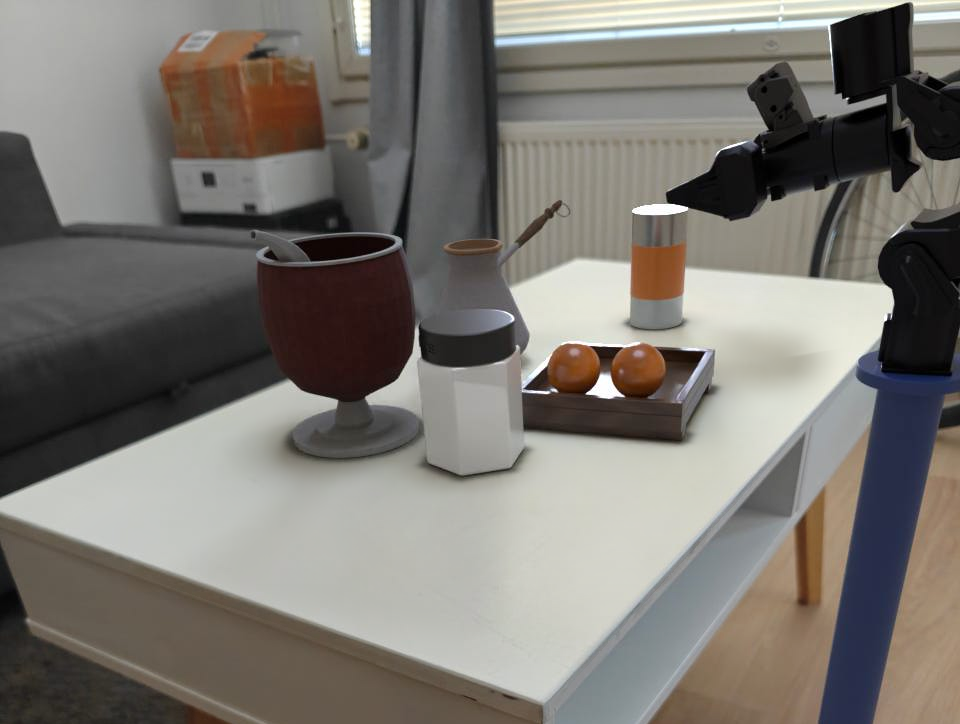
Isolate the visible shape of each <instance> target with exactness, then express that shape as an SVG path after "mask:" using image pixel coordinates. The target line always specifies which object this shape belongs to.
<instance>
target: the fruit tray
mask: <svg viewBox="0 0 960 724" xmlns="http://www.w3.org/2000/svg"><path fill="white" fill-rule="evenodd" d="M715 361H716V349H714V348H713V349H711V348H695V347H675V346H674V347H671V346H653V345H651V344H648V343H645V342H633V343H629V344H611V343H610V344H609V343H591V342H590V343H588V342H582V341H575V340H574V341H573V340H572V341H563V342H562V343H561V344H560V345H559V346H558V347H556V348H555V349H554V350H553V352H552V353H550V354H549V356H547V357H546V358H545V359H544V360H543V361H542V362H541V363H540V364H539V365H538V366H537V367H536V368H535V369H534V370H533V371H531V373H530V374H529V375H528V376H527V377H526V378H525V379H523V381H521V386H522V410H523V428H527V429H539V430H550V431H551V430H552V431H562V432H574V433H586V434H587V433H588V434H600V435H611V436H624V437H636V438H647V439H648V438H649V439H658V440H671V441H672V440H673V441H683V440H684V438H685V435H686V432H687V431H686V430H687V423H688V422H689V420H690V417H691V416H692V414H693V413H694V410H695V409H696V407H697V405H698V404H699V402H700V400H701V399H702V396H703V395H704V393H708V394H709V393H710V391H711V389H712V385H713V377H714V372H715Z"/></svg>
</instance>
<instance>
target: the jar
mask: <svg viewBox="0 0 960 724" xmlns="http://www.w3.org/2000/svg"><path fill="white" fill-rule="evenodd" d="M417 330H418V337H417V338H418V346H419V348H420V357H419V358H418V359H417V360H416V364H417V366H416V367H417V376H418V384H419V394H420V403H421V413H422V422H423V431H424V433H423V434H424V441H425V450H426V452H425V453H426V461H427V463H428V464H430V465H432V466H435V467H438V468H441V469H443V470H445V471H448V472H450V473H453V474H456V475H458V476H461V477H462V476H463V477H464V476H469V475H475V474H482V473H488V472H495V471H500V470H508V469H511V468H512V467H513V465H514V464H515V462H516V460H517V459H518V457H519V456H520V454H521V453H522V451H523V450H524V448H525V441H524V440H525V438H524V427H523V410H522V386H521V383H522V363H521V355H520V347H519V346H517V345H516V331H515V319H514V317H513V316H512V315H510V314H508V313H506V312H503V311H498V310H490V309H466V310H456V311H450V312H445V313H440V314H437V313H436V314H433V315H431V316H428V317H426V318H424V319H423V320H422V321H421V322H419V324H418V328H417Z"/></svg>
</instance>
